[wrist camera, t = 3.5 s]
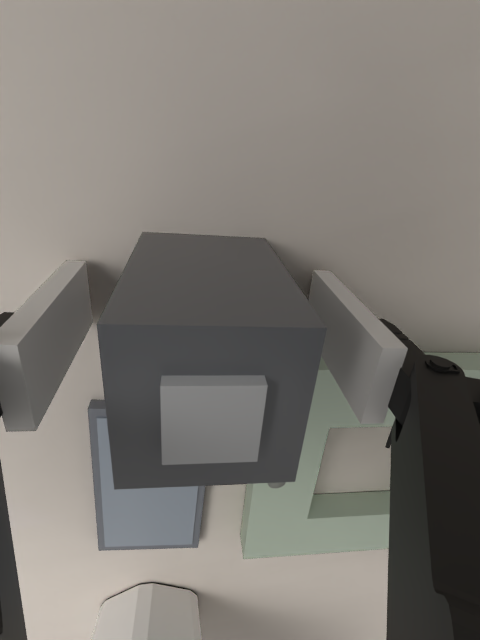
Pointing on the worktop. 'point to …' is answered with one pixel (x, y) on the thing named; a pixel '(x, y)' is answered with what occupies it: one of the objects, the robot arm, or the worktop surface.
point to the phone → (139, 503)
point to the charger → (207, 364)
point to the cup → (149, 615)
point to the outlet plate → (322, 509)
